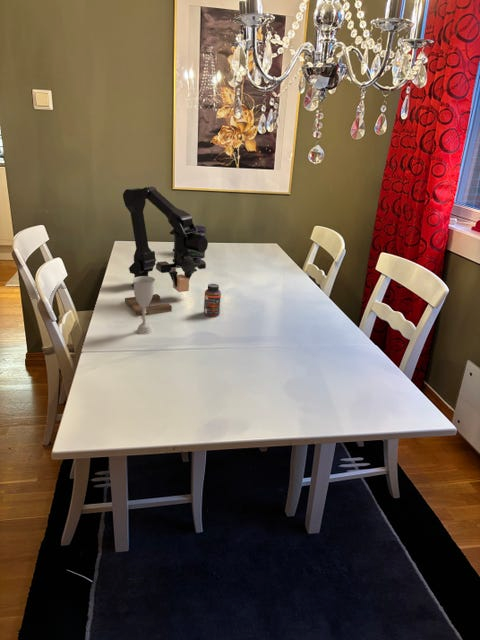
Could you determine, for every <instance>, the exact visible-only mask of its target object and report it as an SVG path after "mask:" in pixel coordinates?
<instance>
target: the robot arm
mask: <svg viewBox="0 0 480 640" xmlns="http://www.w3.org/2000/svg"><path fill="white" fill-rule="evenodd" d="M122 199H123V201H124V206H125V207H126V209H127V210H128V212H129V214H130V220H131V225H132V231H133V237H134V243H135V251H134V254H133V263H132V264H131V265H130V266H129V267H128V271H129V273H130V274H133V275H134V276H133V278H135V277H139V276H149V272H153V270H154V268H155V269H156V271H158V272H159V273H162V274H166V273H168V274H169V277H170V279H171V281H172V285H173V284H174V286H175V287H177V275H178V274H179V272H178V271H177V269H181V270H182V272H183V273H184V274H183V275H184V276H186V277H187V278H189V281H190V279H191V278H192V276H193V274H194V273H195V272H197V271H198V270H204V269H206V267H207V266H206V265H207V264H206V262H205V260H203V258H202V259H200V258H199V257H193V258H192V257H191V251H189V250H192V251H196V252H200V253H203V252H205V253H206V251H207V249H208V246H209V242H208V239H207V237H206V238H205V234H199V233H198V230H197V228H196V226H197V225H196V224H195V222H194V220H193V217H192V215H191V214H190V213H188V212H186V211H185V210H182V209H180V208H178V207H176V206H174V205H173V203H171V202H170V200H168V199H167V198H165V196H164V195H162V193H160V192H159V191H158V189H157V188H156V187H154V186H145V187H143V188H140V187H136V188H128V189H125V190H124V192H123V193H122ZM146 200H147V201H149V202H150V203H151V204H152V205H153V206H154V207H155V208H157V210H159V211H160V212H161V213H162V214H163V215H164V216H165V217H166V218H167V222H168V224H169V225H170V226H171V227H172V228H173V229H172V230H171V231H169V235H172V236H174V237H173V248H172V252H173V258H172V262H173V263H169V262H167V260H165V261H157V258H156V252H155V250H152V249H151V248H150V247H149V241H148V233H147V229H146V222H145V215H144V209H145V207H146V204H147V203H146ZM189 228H190V229H189ZM187 229H189V230H187ZM156 261H157V262H156ZM196 268H197V269H198V270H197V269H196ZM131 286H133V287H134V282H132V283H131Z"/></svg>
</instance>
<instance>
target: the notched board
mask: <svg viewBox="0 0 480 640" xmlns="http://www.w3.org/2000/svg"><path fill="white" fill-rule="evenodd" d="M157 302H158V303H159V302H161V296H160V295H159V294H158V293H155V294H154V293H153V296H152V299H151V301H150V303H157ZM150 303H149V304H150ZM124 304H125V305H126V306H128V308H129V309H130V310H131V311H132V312H133V313H134V314H135V315H136V316H137V317H142V316H143V314H142V310H143V308H142V307H140V305H139V304H138V302H137V300H136V297H135V296H131V297H130V296H128V297H124ZM172 311H173V306H172V305H171V304H170V303H163V304H154V305H148V306H147V307H146V312H147V313H146V316H147V315H148V316H149V315H155V314H161V313H169V312H172Z"/></svg>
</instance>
